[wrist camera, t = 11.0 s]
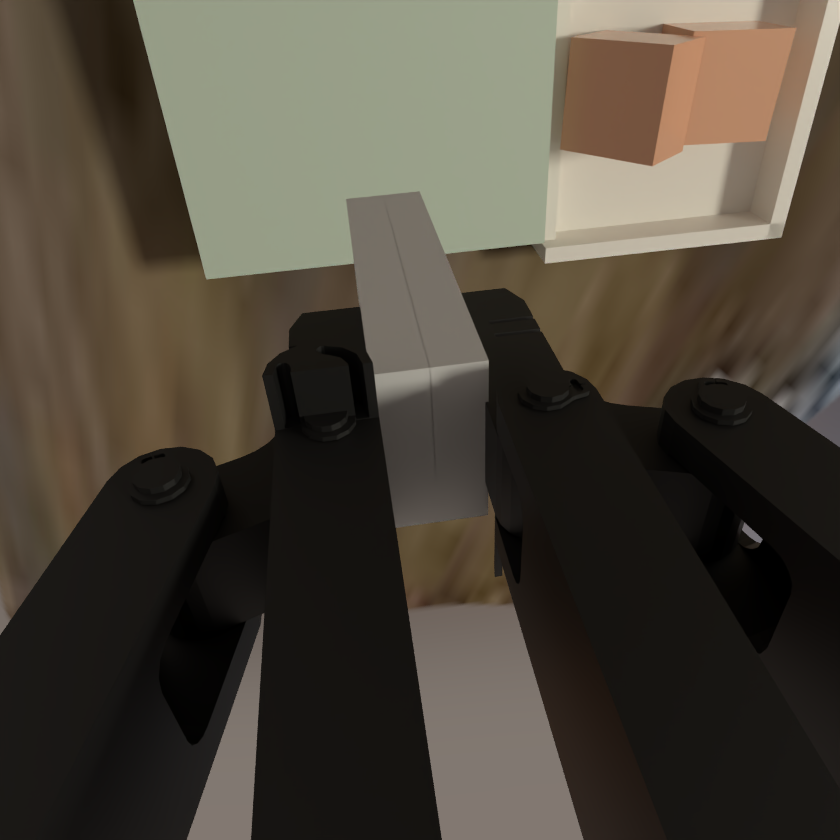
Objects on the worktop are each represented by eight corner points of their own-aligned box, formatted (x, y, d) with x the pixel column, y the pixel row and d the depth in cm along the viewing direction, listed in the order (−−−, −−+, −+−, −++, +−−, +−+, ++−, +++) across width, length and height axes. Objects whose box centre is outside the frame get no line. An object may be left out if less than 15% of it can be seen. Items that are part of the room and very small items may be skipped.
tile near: (606, 29, 30) (571, 37, 28) (705, 36, 27) (674, 45, 26) (592, 136, 33) (560, 149, 31) (682, 151, 30) (652, 166, 28)
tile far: (796, 27, 28) (757, 20, 30) (694, 31, 28) (663, 23, 30) (765, 141, 31) (732, 126, 33) (672, 145, 30) (645, 130, 33)
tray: (548, -145, 26) (568, -151, 24) (849, -163, 27) (892, -171, 25) (531, 245, 36) (545, 263, 34) (755, 221, 37) (781, 237, 35)
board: (135, -69, 26) (115, -70, 23) (537, -96, 27) (563, -99, 24) (214, 250, 34) (206, 279, 31) (525, 218, 35) (544, 243, 32)
